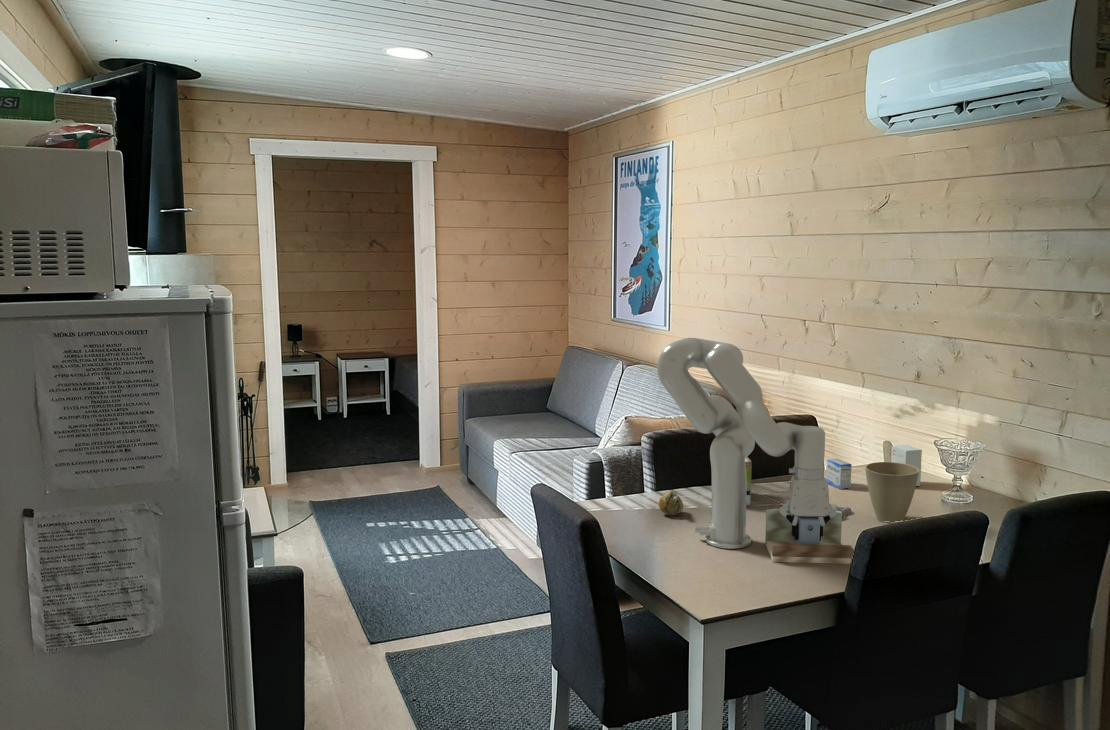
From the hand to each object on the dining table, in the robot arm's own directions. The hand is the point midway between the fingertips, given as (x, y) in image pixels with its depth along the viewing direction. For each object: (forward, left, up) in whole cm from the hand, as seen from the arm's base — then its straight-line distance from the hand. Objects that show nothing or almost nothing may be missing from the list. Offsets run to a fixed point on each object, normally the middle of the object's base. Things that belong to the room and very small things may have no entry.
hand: (807, 537), depth 221 cm
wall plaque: (+8, +32, -5) cm, 33 cm away
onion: (-35, +31, -5) cm, 47 cm away
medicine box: (+23, +65, -5) cm, 69 cm away
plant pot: (+30, +30, -5) cm, 43 cm away
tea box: (-15, +48, -5) cm, 50 cm away
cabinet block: (0, 0, -2) cm, 2 cm away
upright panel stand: (0, 0, -4) cm, 4 cm away
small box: (+46, +68, -5) cm, 82 cm away
